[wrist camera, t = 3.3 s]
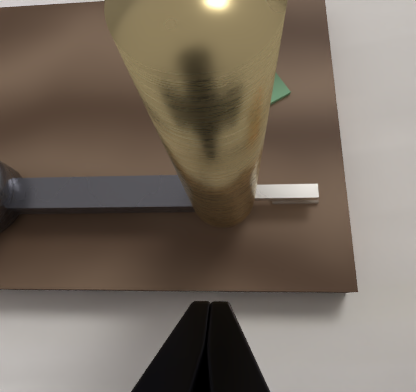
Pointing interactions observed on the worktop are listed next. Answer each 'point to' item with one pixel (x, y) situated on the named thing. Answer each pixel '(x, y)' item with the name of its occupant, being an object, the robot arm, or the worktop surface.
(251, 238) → the dial board
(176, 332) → the robot arm
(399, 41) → the worktop surface
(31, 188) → the tuning lever
